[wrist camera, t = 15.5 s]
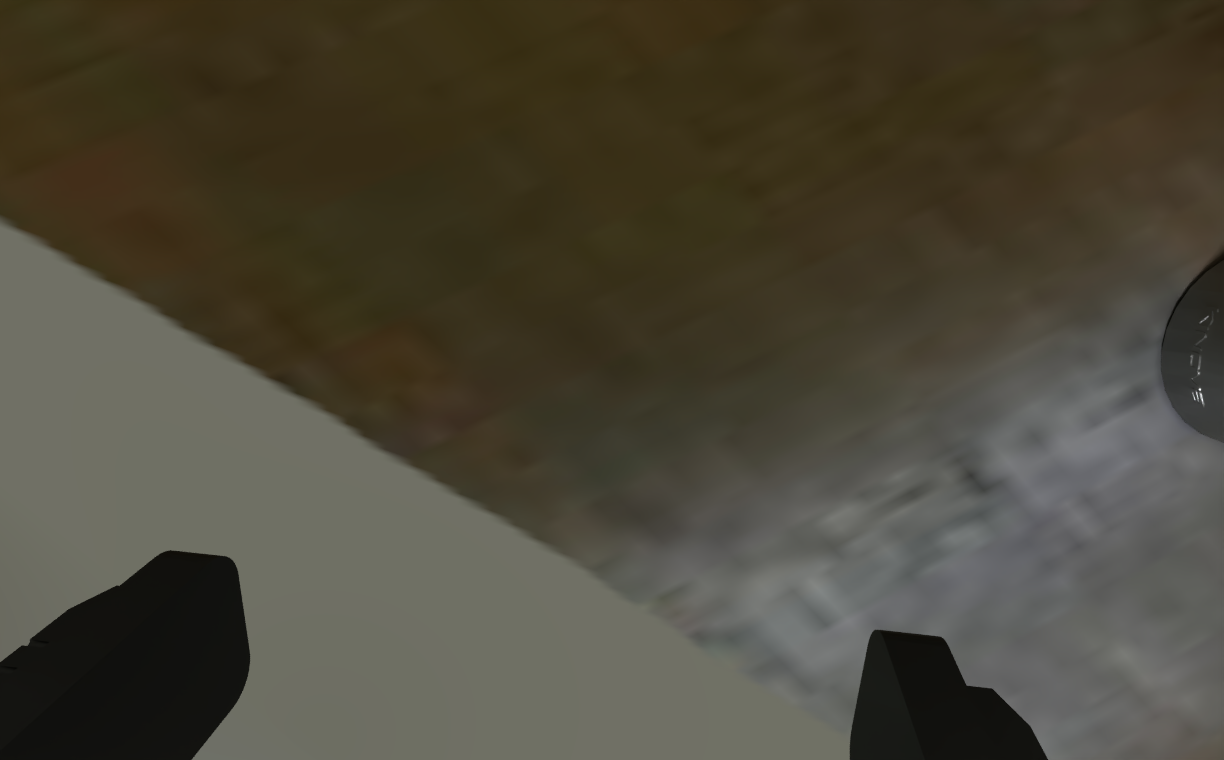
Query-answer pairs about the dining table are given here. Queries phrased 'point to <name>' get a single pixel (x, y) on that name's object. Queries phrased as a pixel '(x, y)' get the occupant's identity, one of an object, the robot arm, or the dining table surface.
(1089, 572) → the dining table surface
